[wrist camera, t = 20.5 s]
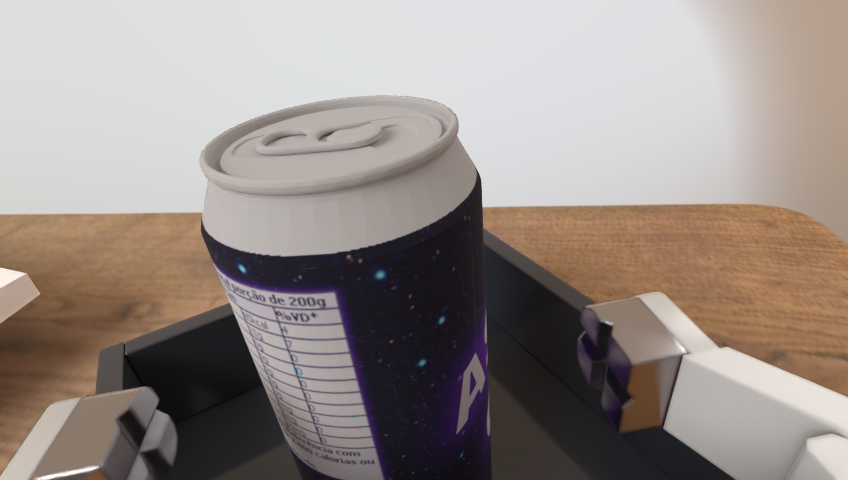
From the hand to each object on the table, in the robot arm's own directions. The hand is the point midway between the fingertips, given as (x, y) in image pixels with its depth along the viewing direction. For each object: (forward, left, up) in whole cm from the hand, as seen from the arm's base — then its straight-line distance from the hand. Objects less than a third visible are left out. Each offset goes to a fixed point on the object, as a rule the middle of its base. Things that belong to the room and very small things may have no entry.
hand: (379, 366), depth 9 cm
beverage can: (-1, -2, -8) cm, 9 cm away
